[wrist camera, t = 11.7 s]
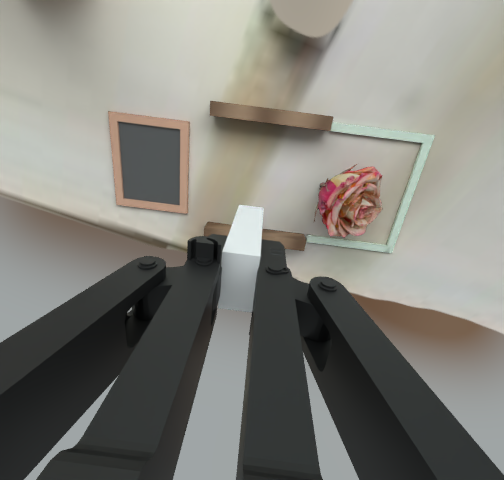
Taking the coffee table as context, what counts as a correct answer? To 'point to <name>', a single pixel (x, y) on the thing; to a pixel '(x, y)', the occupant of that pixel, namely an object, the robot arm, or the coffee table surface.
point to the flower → (350, 201)
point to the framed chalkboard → (150, 161)
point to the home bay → (408, 193)
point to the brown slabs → (274, 117)
